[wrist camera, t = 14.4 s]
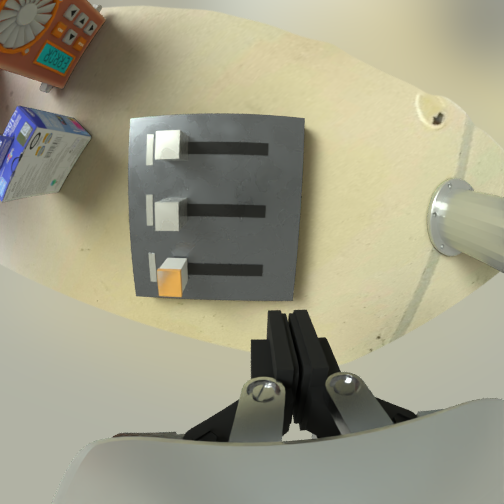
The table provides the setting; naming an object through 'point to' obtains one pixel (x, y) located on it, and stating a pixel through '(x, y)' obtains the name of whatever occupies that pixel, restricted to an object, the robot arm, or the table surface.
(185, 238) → the breaker board
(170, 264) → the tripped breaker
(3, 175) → the ink cartridge box
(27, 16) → the control panel
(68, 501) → the robot arm
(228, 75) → the table surface
